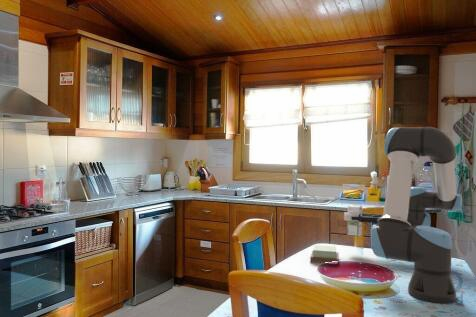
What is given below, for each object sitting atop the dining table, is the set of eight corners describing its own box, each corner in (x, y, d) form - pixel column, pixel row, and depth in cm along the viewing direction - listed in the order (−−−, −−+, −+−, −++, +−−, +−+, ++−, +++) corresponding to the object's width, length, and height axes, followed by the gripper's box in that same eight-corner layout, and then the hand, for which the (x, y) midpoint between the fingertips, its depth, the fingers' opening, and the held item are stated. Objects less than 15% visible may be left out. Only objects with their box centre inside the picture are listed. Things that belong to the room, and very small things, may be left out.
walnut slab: (338, 266, 175) (338, 259, 175) (310, 263, 178) (310, 257, 178) (338, 259, 187) (338, 252, 187) (312, 256, 190) (312, 250, 190)
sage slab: (336, 258, 177) (336, 251, 176) (313, 256, 179) (313, 250, 179) (335, 252, 186) (335, 246, 186) (313, 251, 188) (313, 244, 188)
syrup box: (361, 235, 196) (362, 205, 196) (358, 237, 191) (359, 206, 191) (350, 233, 199) (351, 204, 199) (346, 235, 194) (347, 205, 194)
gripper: (396, 231, 181) (344, 227, 187) (391, 223, 200) (343, 220, 206) (397, 214, 181) (344, 211, 186) (391, 208, 200) (344, 205, 206)
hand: (344, 216), depth 196 cm, fingers closed on syrup box, 7 cm apart
